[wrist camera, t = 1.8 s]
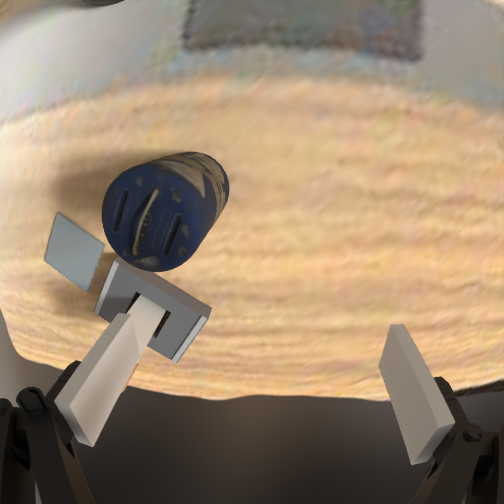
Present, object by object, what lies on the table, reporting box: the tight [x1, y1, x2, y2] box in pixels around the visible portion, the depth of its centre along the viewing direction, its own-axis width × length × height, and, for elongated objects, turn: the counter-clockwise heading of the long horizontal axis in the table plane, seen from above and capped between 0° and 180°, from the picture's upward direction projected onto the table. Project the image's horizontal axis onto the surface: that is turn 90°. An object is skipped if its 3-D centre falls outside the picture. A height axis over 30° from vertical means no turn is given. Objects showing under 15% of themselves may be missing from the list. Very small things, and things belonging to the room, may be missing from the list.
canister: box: [102, 152, 229, 272], centre depth 31 cm, size 10×10×18 cm
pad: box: [45, 212, 106, 292], centre depth 44 cm, size 10×10×1 cm
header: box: [94, 256, 212, 364], centre depth 45 cm, size 16×11×3 cm
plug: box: [122, 295, 166, 392], centre depth 40 cm, size 5×5×16 cm
